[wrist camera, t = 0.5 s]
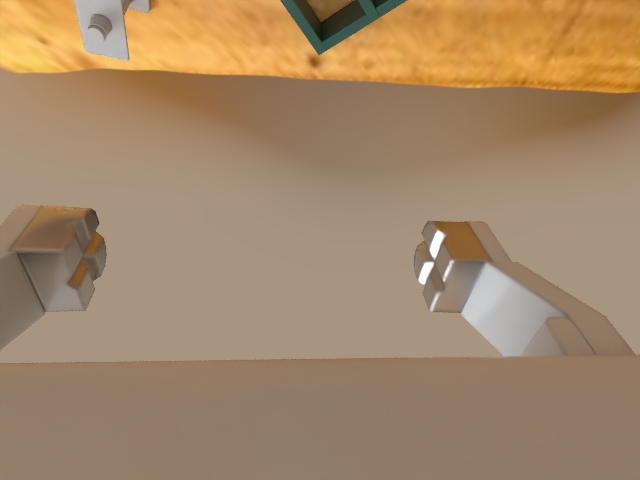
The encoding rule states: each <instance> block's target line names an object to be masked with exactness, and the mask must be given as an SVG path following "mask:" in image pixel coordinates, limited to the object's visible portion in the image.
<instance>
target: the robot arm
mask: <svg viewBox="0 0 640 480" xmlns="http://www.w3.org/2000/svg"><path fill="white" fill-rule="evenodd" d="M98 225H99V221H98V218H97V215H96V212H95V211H94V210H93V209H91V208H74V207H57V206H56V207H55V206H34V205H21V206H18V207H16V208H15V209H14V210H13V211H12V213H11V214H10V215H9V216H8V217H7V219H6V220H5V221H4V222H3V223H2V225H1V226H0V350H1V349H3V348H4V347H5V346H6V345H7V344H9V343H10V342H11V341H12V340H14V339H15V338H16V337H17V336H18V335H20V334H21V333H22V332H23V331H25V330H26V329H27V328H28V327H29V326H31V325H32V324H33V323H34V322H35V321H37V320H38V319H39V318H41V317H42V316H43V315H44V314H45V312H55V311H56V312H58V311H85V310H86V308H87V306H88V304H89V302H90V299H91V297H92V295H93V293H94V291H95V288H94V285H93V281H94V280H95V279H97V278H98V277H100V276H101V275H102V272H103V270H104V267H105V262H106V246H105V241H104V238H103V237H102V236H101V235H99V234H98V233H97V232H96V229H97V227H98ZM422 235H423V237H424V239H425V240H424V241H423V242H422V243H421V244H420V245H418V246H417V249H416V253H415V256H414V270H415V274H416V277H417V279H418V281H419V282H421V283H422V284H423V285H424V286H425V287H424V290H423V292H422V293H423V296H424V298H425V301H426V303H427V306H428V309H429V311H430V312H449V313H461V315H462V316H463V317H464V318H465V319H466V320H467V321H468V322H469V323H470V324H471V325H472V326H473V327H474V328H475V329H476V330H478V332H480V333H481V334H482V335H483V336H484V337H485V338H486V339H487V340H488V341H489V342H490V343H491V344H492V345H493V346H494V347H495V348H496V349H497V350H498V351H499V352H500V353H501V354H502V355H503V356H502V357H501V356H500V357H434V358H359V359H356V358H355V359H288V360H287V359H283V360H281V359H280V360H211V361H143V362H142V361H139V362H71V363H69V362H68V363H67V362H66V363H0V480H640V355H636V354H635V353H634V352H633V351H632V349H631V348H630V347H629V346H628V344H627V343H626V342H625V340H624V339H623V338H622V337H621V336H620V334H619V333H618V332H617V331H616V329H615V328H614V327H613V325H612V324H611V323H610V321H609V320H608V319H607V318H606V316H604V315H602V314H601V313H599V312H597V311H596V310H594V309H593V308H591V307H589V306H588V305H586V304H585V303H583V302H581V301H580V300H578V299H576V298H575V297H573V296H571V295H570V294H568V293H567V292H565V291H564V290H562V289H560V288H559V287H557V286H555V285H554V284H552V283H550V282H549V281H547V280H546V279H544V278H542V277H541V276H539V275H538V274H536V273H534V272H533V271H531V270H529V269H528V268H526V267H525V266H523V265H521V264H520V263H518V262H512V261H511V260H510V258H509V257H508V255H507V253H506V252H505V250H504V249H503V247H502V246H501V244H500V243H499V241H498V240H497V238H496V237H495V235H494V234H493V233H492V231H491V229H490V228H489V226H488V225H487V224H486V223H484V222H444V221H442V222H441V221H428V222H427V223H426V225H425V226H424V229H423V232H422Z"/></svg>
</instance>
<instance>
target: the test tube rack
mask: <svg viewBox="0 0 640 480" xmlns="http://www.w3.org/2000/svg"><path fill="white" fill-rule="evenodd" d="M74 3H75V7H76V12H77V16H78V21H79V25H80V30H81V35H82V39H83V44H84V48H85V52H88V53H92V54H97V55H102V56H107V57H112V58H117V59H122V60H127V61H129V51H128V43H127V36H126V28H125V20H124V15H125V13H126V11H127V8H130V9H135V10H139V11H143V12H148V13H149V12H150V10H151V8H150V0H74ZM93 15H94V17H93ZM92 17H93V18H92Z"/></svg>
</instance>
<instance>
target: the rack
mask: <svg viewBox="0 0 640 480" xmlns="http://www.w3.org/2000/svg"><path fill="white" fill-rule="evenodd" d="M405 1H407V0H355V1H354V2H352V3H351V4H349V5H348V6H346V7H345V8H343V9H342V10H340V11H339V12H337V13H336V14H334V15H333V16H331V17H330V18H328V19H327V20H325V21H324V22H322V23H320V21H319V19H318V18H317V16H316V15H315V13H314V12H313V10H312V9H311V7H310V6H309V4H308V3H307V1H306V0H281V2H282V3H283V5H284V6H285V7H286V9H287V10H288V12H289V13H290V15H291V16H292V17H293V19H294V20H295V22H296V23H297V25H298V26H299V27H300V29H301V30H302V32H303V33H304V35H305V36H306V37H307V39H308V40H309V42H310V43H311V45H312V46H313V47H314V49H315V50H316V52H317V53H318V55H320V54H322V53H323V52H325V51H327V50H328V49H330V48H331V47H333V46H335V45H336V44H338V43H339V42H341V41H343V40H344V39H346V38H347V37H349V36H351V35H352V34H354V33H356V32H357V31H359V30H360V29H362V28H364V27H365V26H367V25H368V24H370V23H372V22H373V21H375V20H377V19H378V18H380V17H381V16H383V15H384V14H386V13H387V12H389V11H391V10H392V9H394V8H396V7H397V6H399V5H400V4H402V3H404V2H405Z"/></svg>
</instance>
